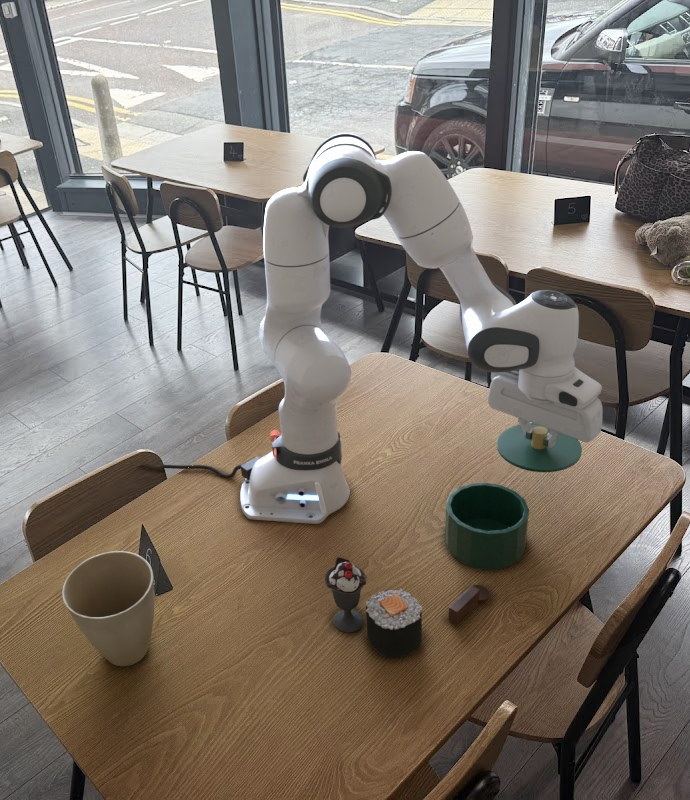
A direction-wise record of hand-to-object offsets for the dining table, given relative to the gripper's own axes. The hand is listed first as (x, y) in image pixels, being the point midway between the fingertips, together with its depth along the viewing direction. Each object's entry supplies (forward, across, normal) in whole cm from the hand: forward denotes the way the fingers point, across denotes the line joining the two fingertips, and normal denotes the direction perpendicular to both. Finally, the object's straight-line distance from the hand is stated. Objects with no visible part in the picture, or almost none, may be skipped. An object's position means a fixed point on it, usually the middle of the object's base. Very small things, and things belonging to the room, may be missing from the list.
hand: (539, 441), depth 146 cm
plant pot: (+12, -30, -78) cm, 84 cm away
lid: (+2, 0, 0) cm, 2 cm away
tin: (+12, +1, -18) cm, 22 cm away
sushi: (+12, +2, -46) cm, 48 cm away
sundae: (+12, -6, -48) cm, 50 cm away
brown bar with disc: (+12, +7, -33) cm, 36 cm away
